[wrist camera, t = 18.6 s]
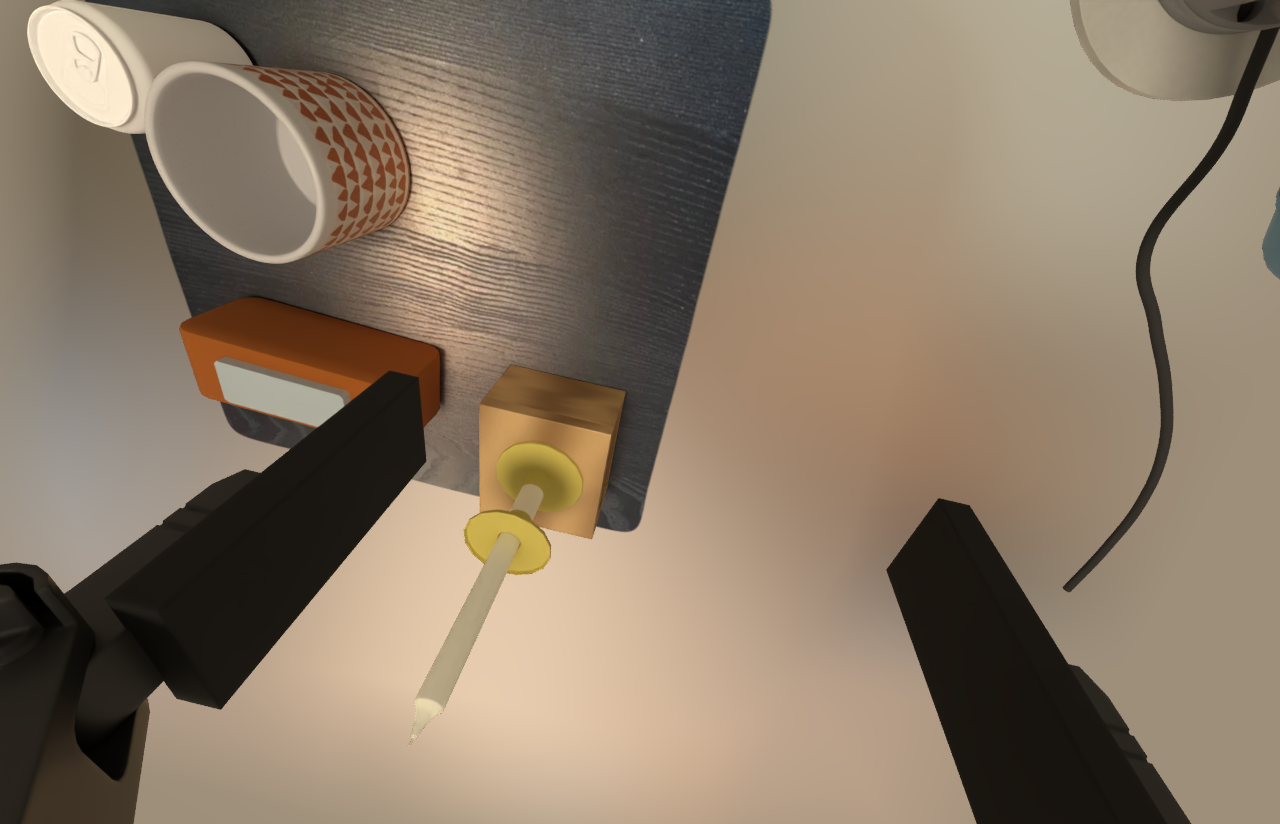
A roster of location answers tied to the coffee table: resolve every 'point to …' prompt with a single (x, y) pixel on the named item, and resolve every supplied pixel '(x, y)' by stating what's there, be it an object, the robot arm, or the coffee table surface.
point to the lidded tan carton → (551, 438)
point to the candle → (501, 555)
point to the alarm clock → (299, 360)
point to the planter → (275, 156)
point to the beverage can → (117, 56)
